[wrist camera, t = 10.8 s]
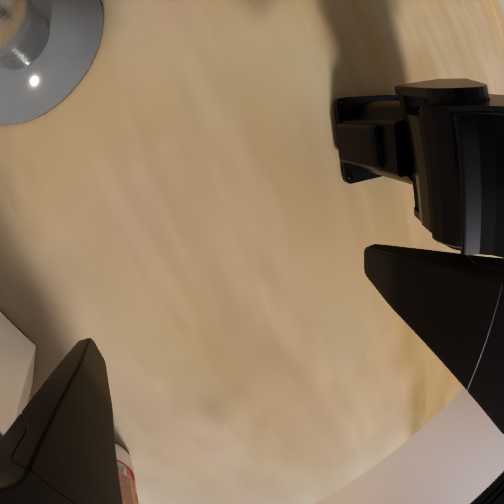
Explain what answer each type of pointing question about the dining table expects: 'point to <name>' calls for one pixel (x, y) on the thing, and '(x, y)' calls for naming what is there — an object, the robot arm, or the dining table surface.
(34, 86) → the coaster
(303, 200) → the dining table surface
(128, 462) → the fruit juice
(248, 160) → the dining table surface
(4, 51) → the peg
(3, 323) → the jar
